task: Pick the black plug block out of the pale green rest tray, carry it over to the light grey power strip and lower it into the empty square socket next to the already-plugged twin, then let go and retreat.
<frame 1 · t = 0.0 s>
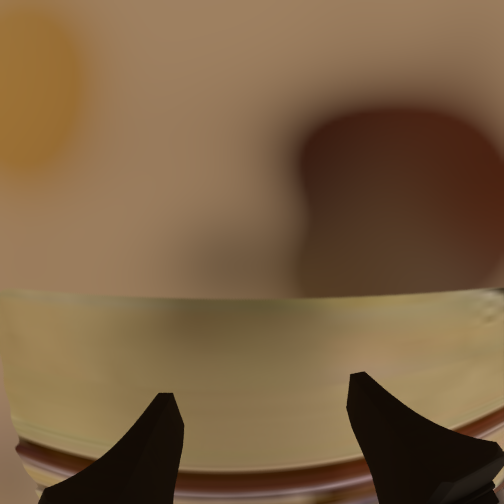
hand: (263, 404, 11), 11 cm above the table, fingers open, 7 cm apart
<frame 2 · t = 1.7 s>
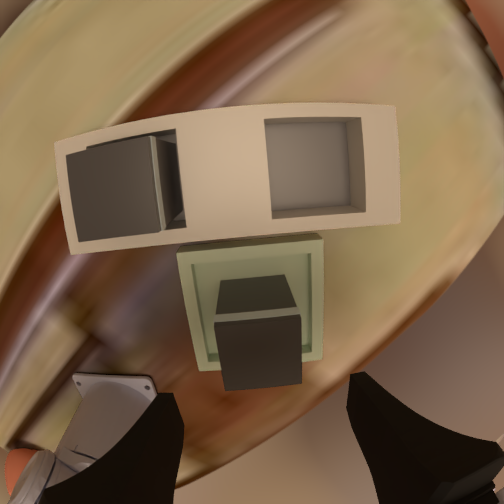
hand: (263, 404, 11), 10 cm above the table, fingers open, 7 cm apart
twin plug: (146, 181, 18), resting on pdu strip
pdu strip: (226, 171, 19), on the table
tray: (254, 302, 21), on the table
sugar bowl: (53, 468, 29), on the table
plug: (255, 306, 21), point 1 cm above the table, touching tray
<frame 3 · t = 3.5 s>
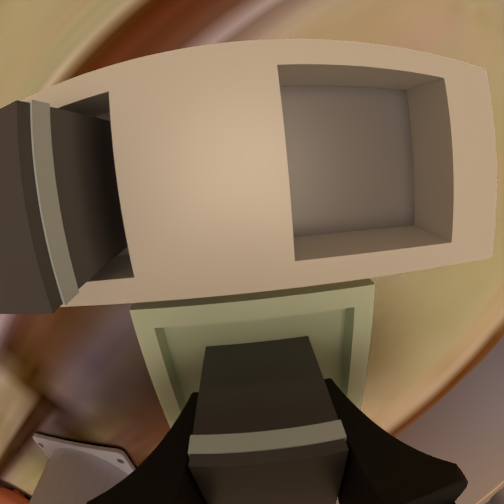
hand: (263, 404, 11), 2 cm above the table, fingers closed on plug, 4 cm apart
twin plug: (80, 191, 10), resting on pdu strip
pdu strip: (210, 168, 11), on the table
tray: (260, 371, 13), on the table
plug: (261, 380, 13), point 1 cm above the table, touching gripper, tray
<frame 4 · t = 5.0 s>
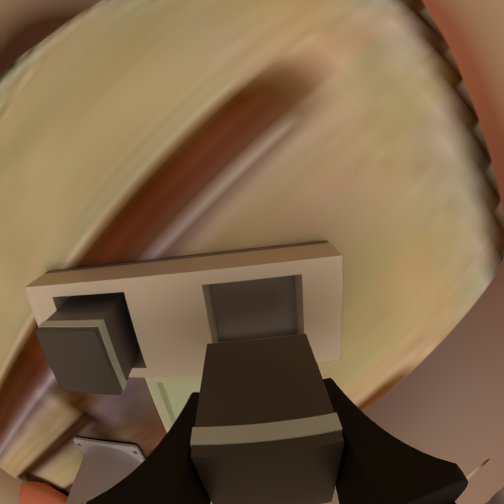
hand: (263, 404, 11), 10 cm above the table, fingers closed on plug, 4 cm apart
twin plug: (111, 315, 20), resting on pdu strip
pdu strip: (180, 306, 20), on the table
tray: (215, 401, 23), on the table
sugar bowl: (61, 496, 31), on the table
plug: (260, 376, 13), point 7 cm above the table, touching gripper
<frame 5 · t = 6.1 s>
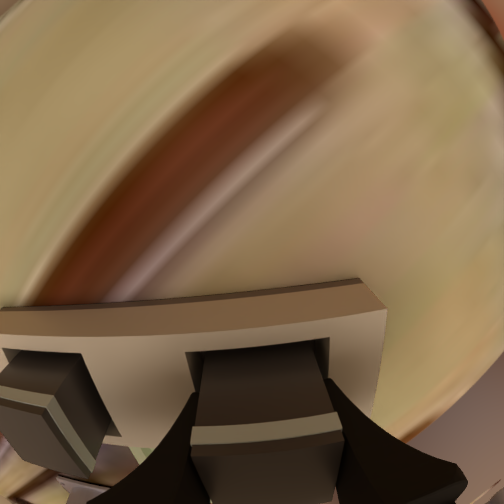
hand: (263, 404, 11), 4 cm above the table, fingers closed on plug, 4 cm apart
twin plug: (77, 366, 14), resting on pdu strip
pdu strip: (161, 361, 15), on the table
plug: (260, 376, 13), point 2 cm above the table, touching gripper
when the fingers open (4 cm above the table, at t = 6.7 s): plug stays where it is, resting on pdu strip.
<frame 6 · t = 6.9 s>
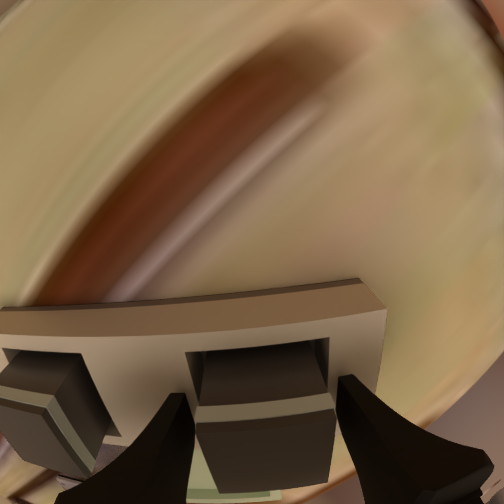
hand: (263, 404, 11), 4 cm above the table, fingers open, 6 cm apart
twin plug: (77, 366, 14), resting on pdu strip
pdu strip: (161, 361, 15), on the table
tray: (211, 459, 17), on the table
plug: (260, 364, 14), point 1 cm above the table, touching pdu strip
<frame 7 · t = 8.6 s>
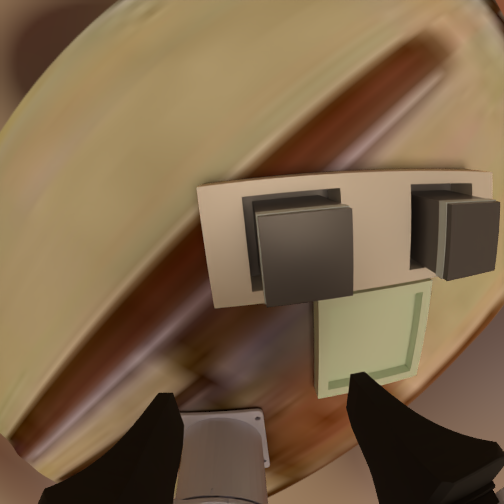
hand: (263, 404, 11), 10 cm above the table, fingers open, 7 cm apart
twin plug: (288, 230, 19), resting on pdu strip
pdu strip: (359, 221, 20), on the table
tray: (368, 333, 23), on the table
plug: (423, 219, 20), point 1 cm above the table, touching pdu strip
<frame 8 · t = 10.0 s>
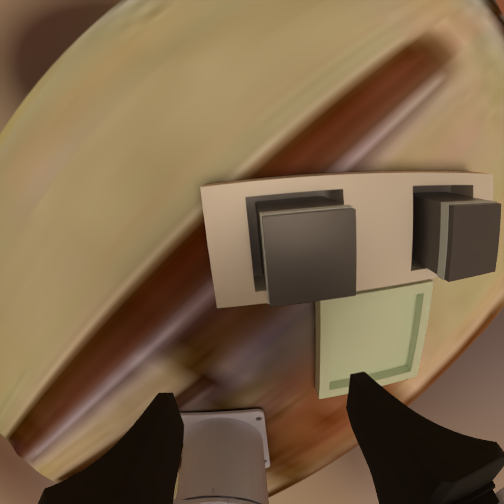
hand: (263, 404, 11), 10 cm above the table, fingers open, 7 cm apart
twin plug: (291, 231, 19), resting on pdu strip
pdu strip: (361, 222, 20), on the table
tray: (369, 334, 23), on the table
plug: (425, 221, 20), point 1 cm above the table, touching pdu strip
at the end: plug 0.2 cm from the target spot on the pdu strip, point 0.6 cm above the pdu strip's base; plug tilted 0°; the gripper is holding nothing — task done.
